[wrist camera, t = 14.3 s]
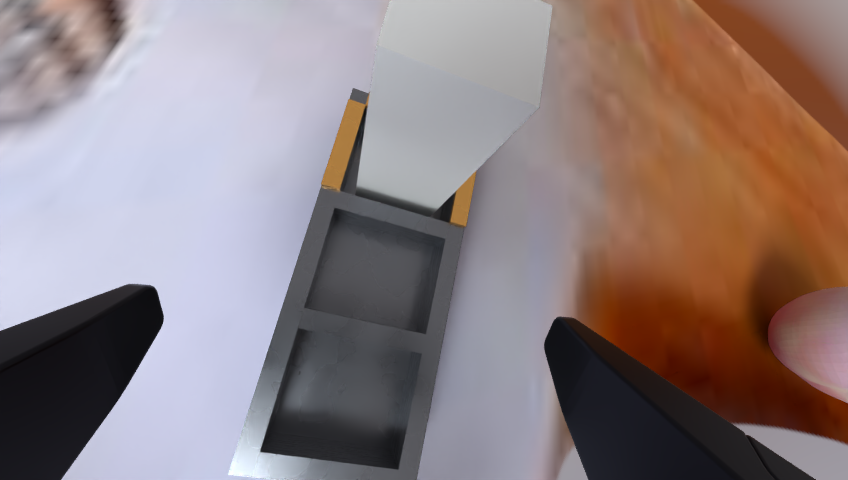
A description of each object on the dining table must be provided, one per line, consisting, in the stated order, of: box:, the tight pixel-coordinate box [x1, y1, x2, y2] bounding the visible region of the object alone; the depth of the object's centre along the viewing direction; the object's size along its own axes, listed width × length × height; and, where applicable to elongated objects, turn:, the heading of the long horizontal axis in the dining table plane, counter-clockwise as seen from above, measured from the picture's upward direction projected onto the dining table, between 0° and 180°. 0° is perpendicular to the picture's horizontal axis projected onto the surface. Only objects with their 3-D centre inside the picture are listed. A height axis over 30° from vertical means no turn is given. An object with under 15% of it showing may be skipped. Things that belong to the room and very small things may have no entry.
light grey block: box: [355, 0, 552, 217], centre depth 16 cm, size 4×5×12 cm
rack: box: [228, 88, 477, 480], centre depth 19 cm, size 20×8×4 cm, turn 167°
